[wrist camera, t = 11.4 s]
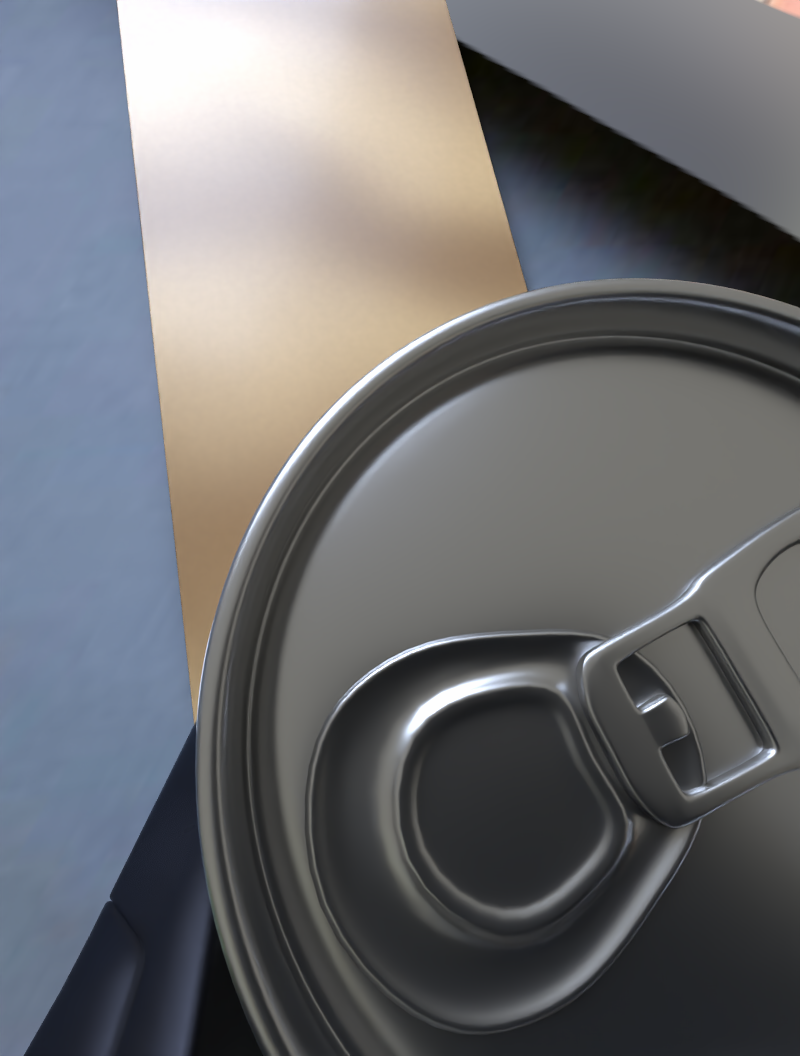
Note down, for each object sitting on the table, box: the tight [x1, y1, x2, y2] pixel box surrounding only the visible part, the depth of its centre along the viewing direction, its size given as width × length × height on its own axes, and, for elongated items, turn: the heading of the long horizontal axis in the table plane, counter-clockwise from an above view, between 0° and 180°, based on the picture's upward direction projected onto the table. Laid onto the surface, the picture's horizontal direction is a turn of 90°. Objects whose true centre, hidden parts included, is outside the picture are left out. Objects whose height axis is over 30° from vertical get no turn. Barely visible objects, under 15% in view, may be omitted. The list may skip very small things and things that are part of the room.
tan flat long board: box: [117, 0, 528, 724], centre depth 19 cm, size 36×12×1 cm, turn 11°
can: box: [195, 278, 800, 1056], centre depth 9 cm, size 6×6×12 cm
